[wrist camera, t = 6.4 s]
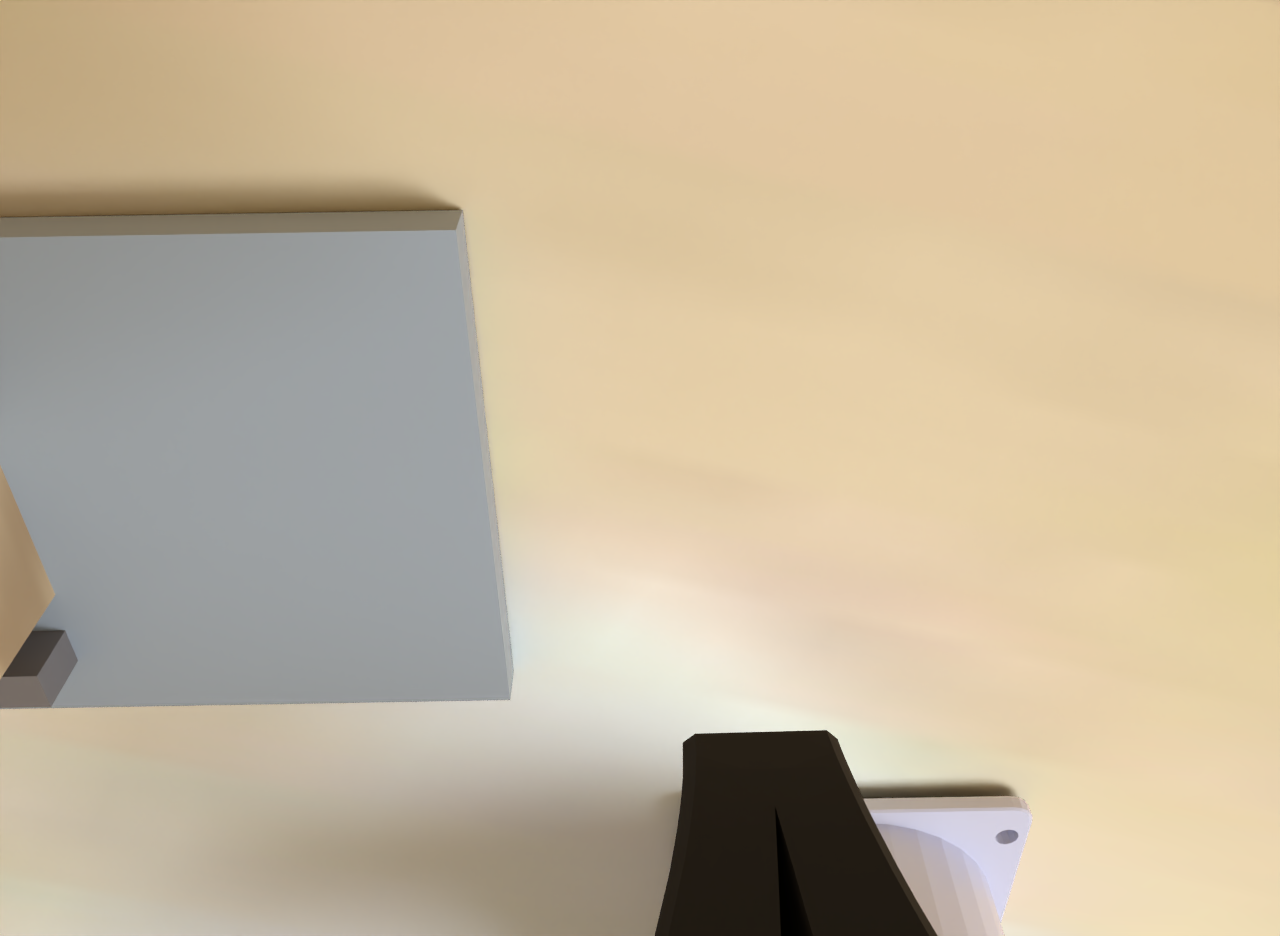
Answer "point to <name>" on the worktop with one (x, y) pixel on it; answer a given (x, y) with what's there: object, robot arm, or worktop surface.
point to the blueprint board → (250, 460)
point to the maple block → (18, 579)
